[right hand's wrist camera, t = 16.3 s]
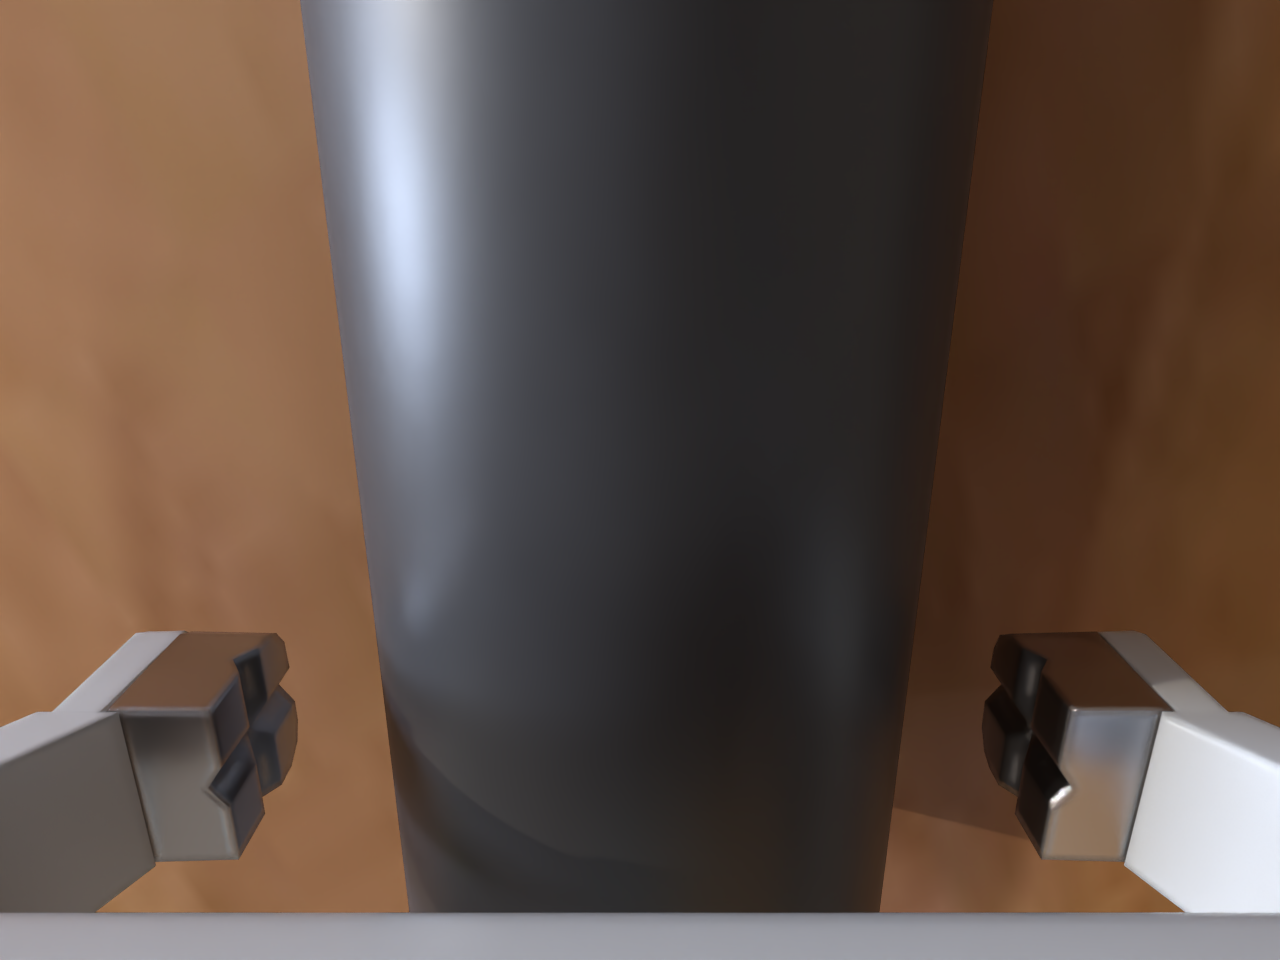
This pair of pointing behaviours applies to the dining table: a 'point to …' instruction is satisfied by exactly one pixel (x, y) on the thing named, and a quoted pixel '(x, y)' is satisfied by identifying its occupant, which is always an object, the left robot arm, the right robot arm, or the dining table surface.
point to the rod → (645, 427)
